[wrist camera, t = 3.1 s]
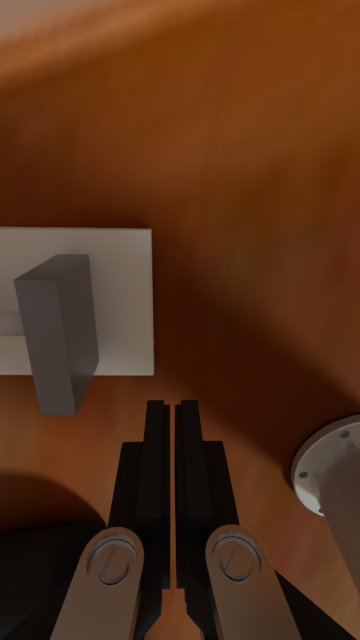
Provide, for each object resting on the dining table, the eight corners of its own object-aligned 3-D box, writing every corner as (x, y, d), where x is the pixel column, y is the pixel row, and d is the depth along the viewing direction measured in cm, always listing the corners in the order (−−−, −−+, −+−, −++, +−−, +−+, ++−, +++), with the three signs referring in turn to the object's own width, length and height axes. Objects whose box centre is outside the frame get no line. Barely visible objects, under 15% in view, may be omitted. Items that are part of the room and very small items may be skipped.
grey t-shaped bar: (88, 254, 20) (56, 280, 15) (99, 361, 24) (76, 415, 18) (-37, 253, 20) (-117, 278, 15) (-10, 361, 23) (-66, 415, 18)
